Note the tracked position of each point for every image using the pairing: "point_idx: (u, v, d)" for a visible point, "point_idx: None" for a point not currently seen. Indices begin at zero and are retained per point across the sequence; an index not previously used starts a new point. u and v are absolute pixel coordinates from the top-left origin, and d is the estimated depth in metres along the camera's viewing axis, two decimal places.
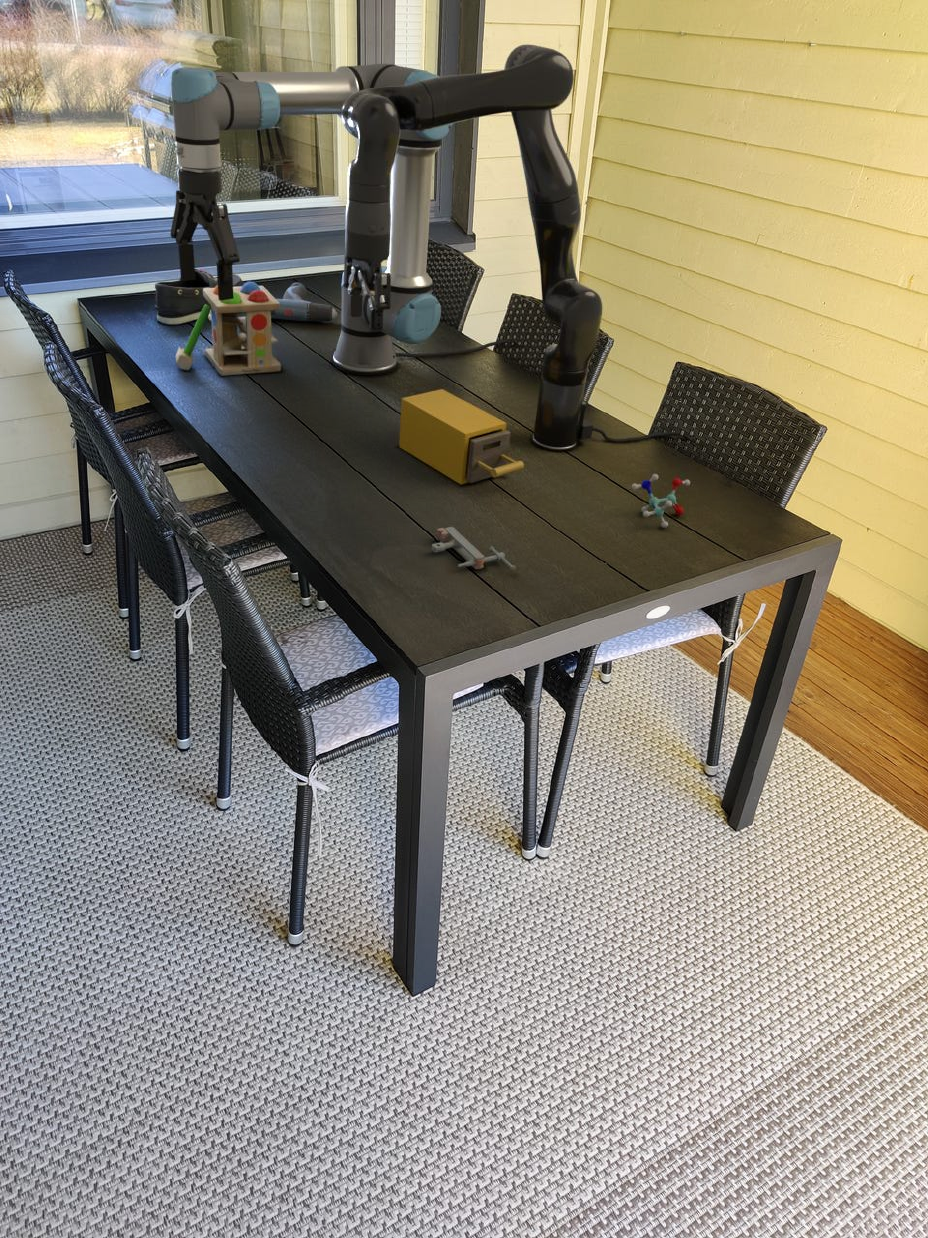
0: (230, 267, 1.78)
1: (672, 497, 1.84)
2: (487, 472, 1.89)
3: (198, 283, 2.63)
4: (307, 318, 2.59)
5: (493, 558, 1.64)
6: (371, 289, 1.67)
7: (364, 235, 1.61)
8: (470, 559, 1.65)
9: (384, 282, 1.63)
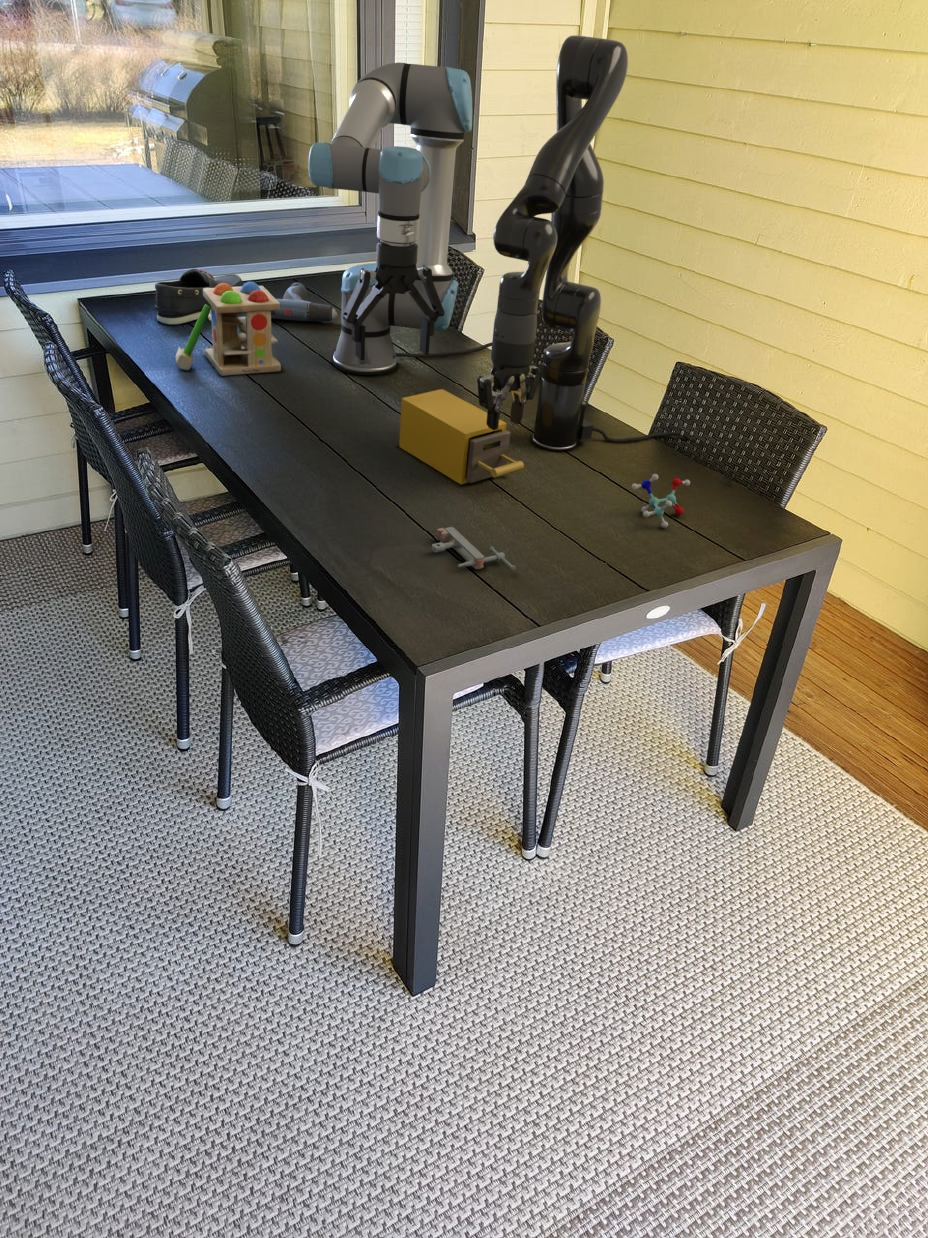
0: None
1: (672, 497, 1.84)
2: (487, 472, 1.89)
3: (198, 283, 2.63)
4: (307, 318, 2.59)
5: (493, 558, 1.64)
6: (498, 389, 1.77)
7: (493, 337, 1.72)
8: (470, 559, 1.65)
9: (482, 386, 1.73)
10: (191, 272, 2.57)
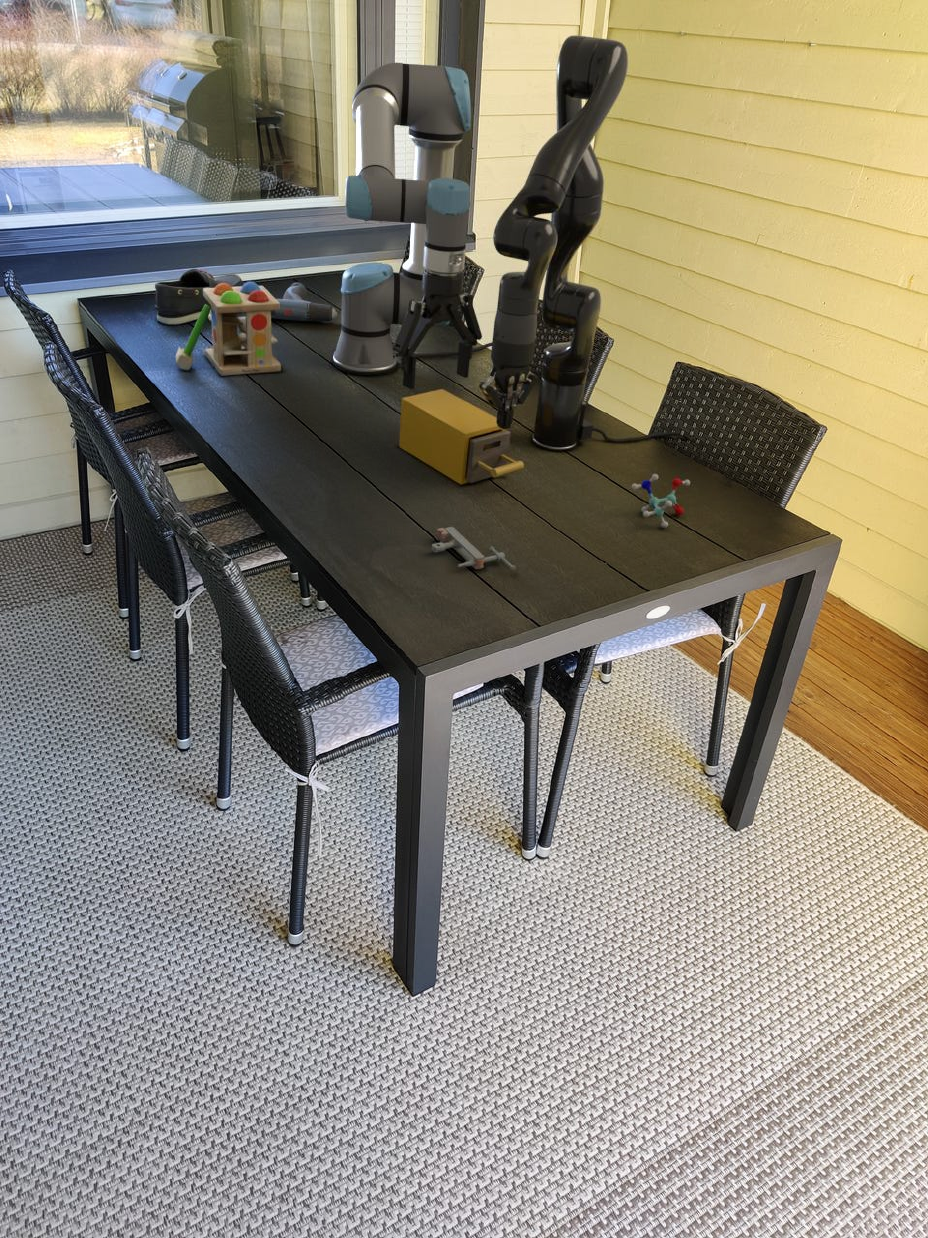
0: None
1: (672, 497, 1.84)
2: (487, 472, 1.89)
3: (198, 283, 2.63)
4: (307, 318, 2.59)
5: (493, 558, 1.64)
6: (498, 389, 1.77)
7: (493, 337, 1.72)
8: (470, 559, 1.65)
9: (485, 392, 1.75)
10: (191, 272, 2.57)
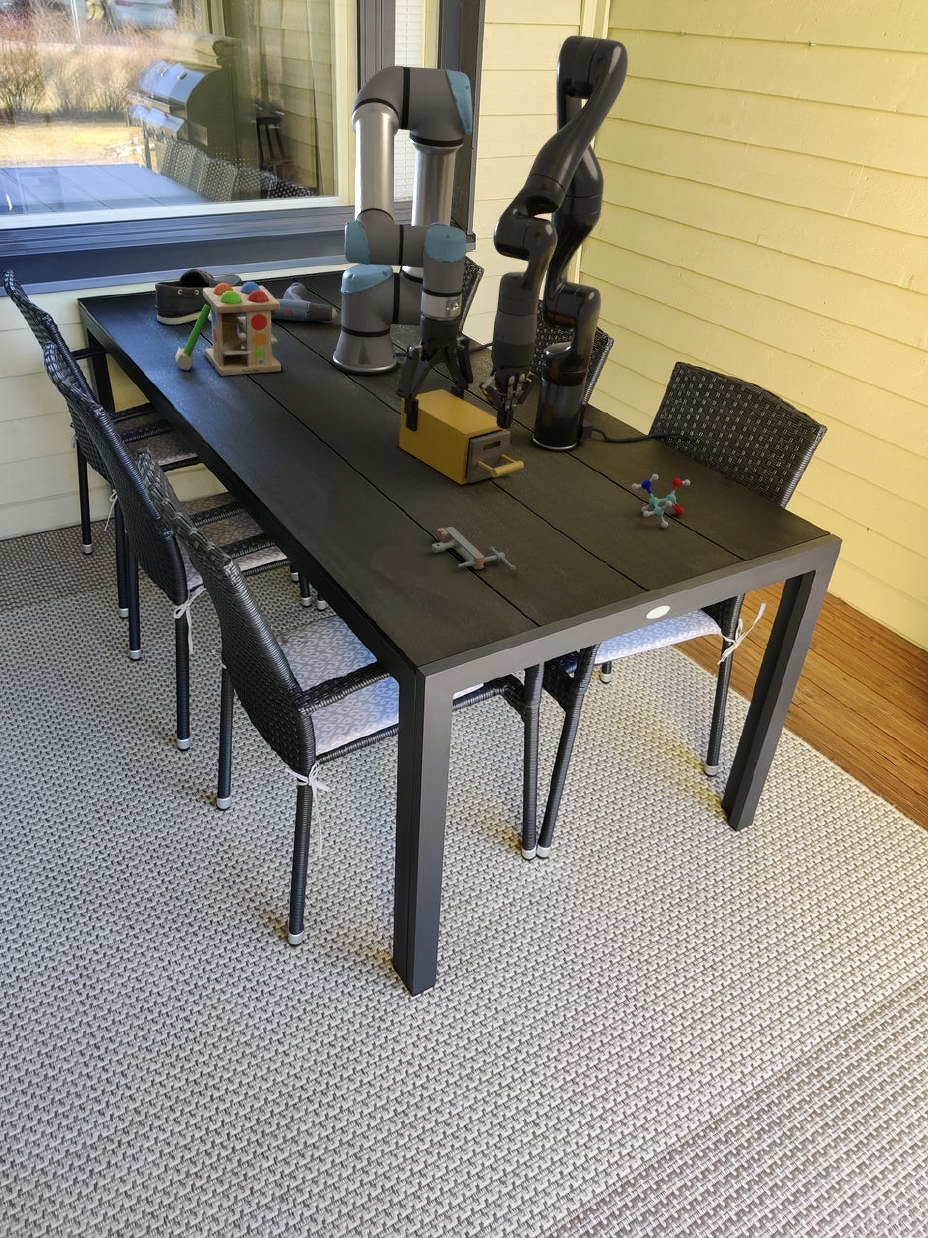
0: None
1: (672, 497, 1.84)
2: (487, 472, 1.89)
3: (198, 283, 2.63)
4: (307, 318, 2.59)
5: (493, 558, 1.64)
6: (498, 389, 1.77)
7: (493, 337, 1.72)
8: (470, 559, 1.65)
9: (485, 392, 1.75)
10: (191, 272, 2.57)
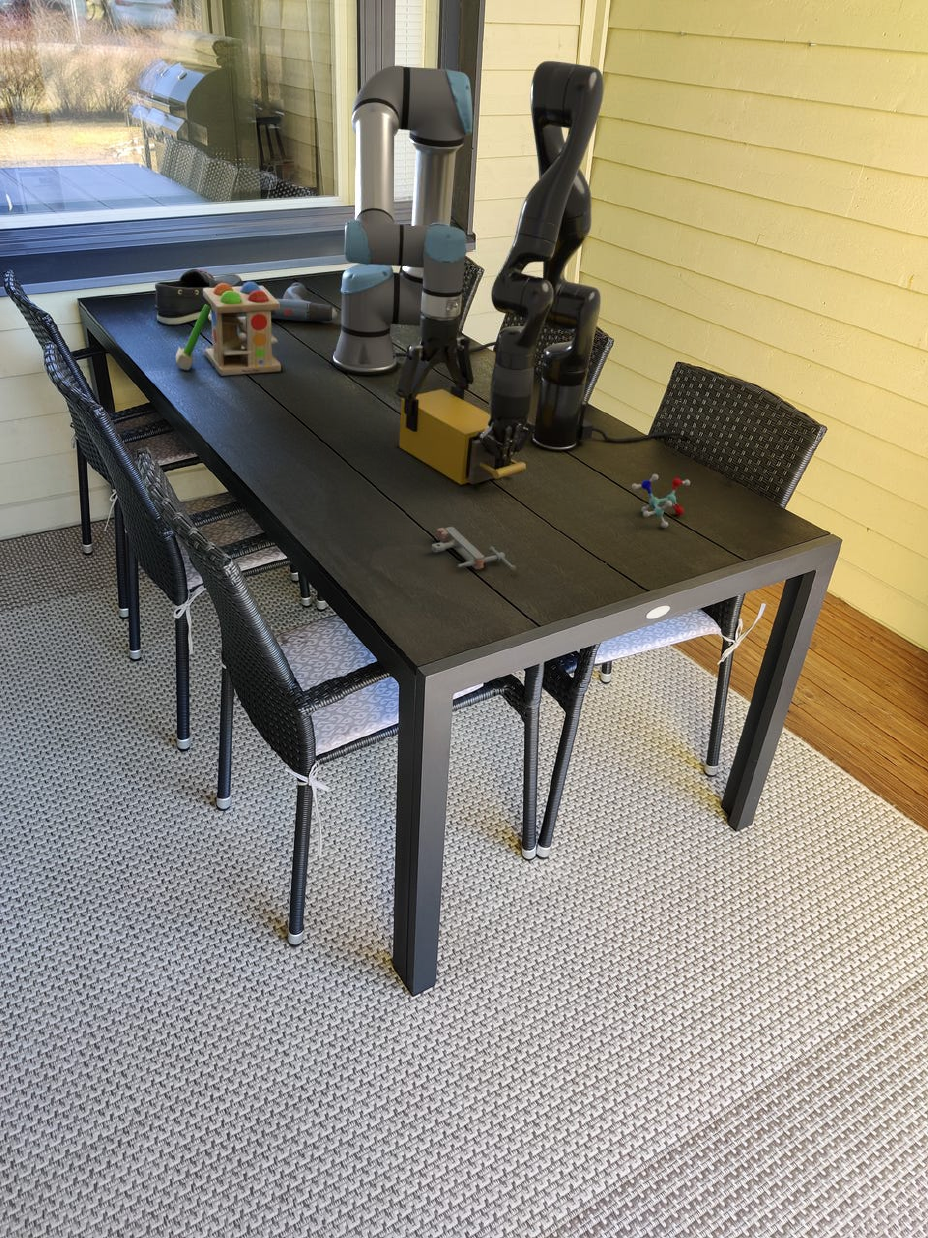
0: None
1: (672, 497, 1.84)
2: (489, 473, 1.89)
3: (198, 283, 2.63)
4: (307, 318, 2.59)
5: (493, 558, 1.64)
6: (495, 438, 1.81)
7: None
8: (470, 559, 1.65)
9: (483, 442, 1.79)
10: (191, 272, 2.57)
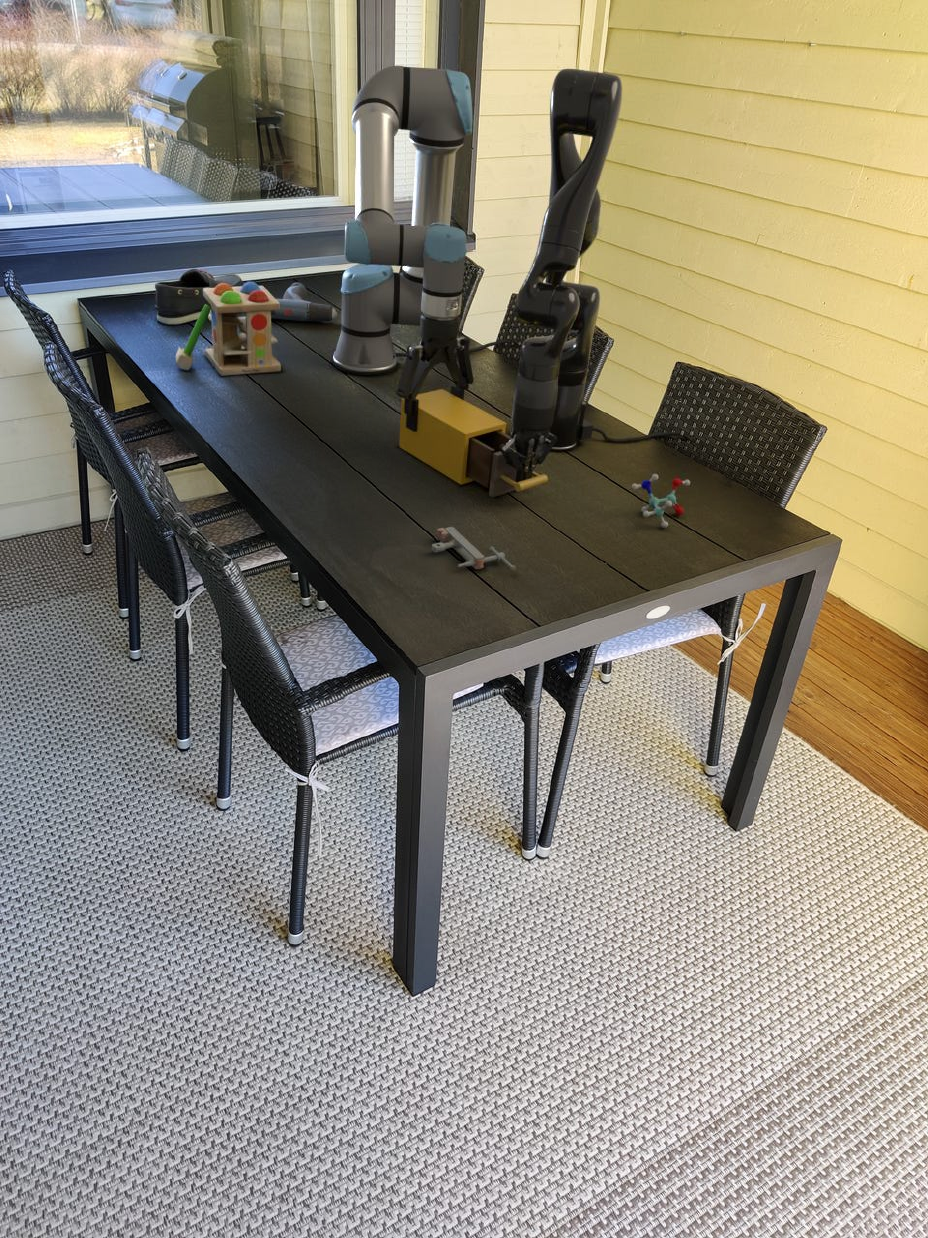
0: None
1: (672, 497, 1.84)
2: (510, 486, 1.85)
3: (198, 283, 2.63)
4: (307, 318, 2.59)
5: (493, 558, 1.64)
6: (517, 450, 1.78)
7: (513, 400, 1.73)
8: (470, 559, 1.65)
9: (505, 454, 1.76)
10: (191, 272, 2.57)
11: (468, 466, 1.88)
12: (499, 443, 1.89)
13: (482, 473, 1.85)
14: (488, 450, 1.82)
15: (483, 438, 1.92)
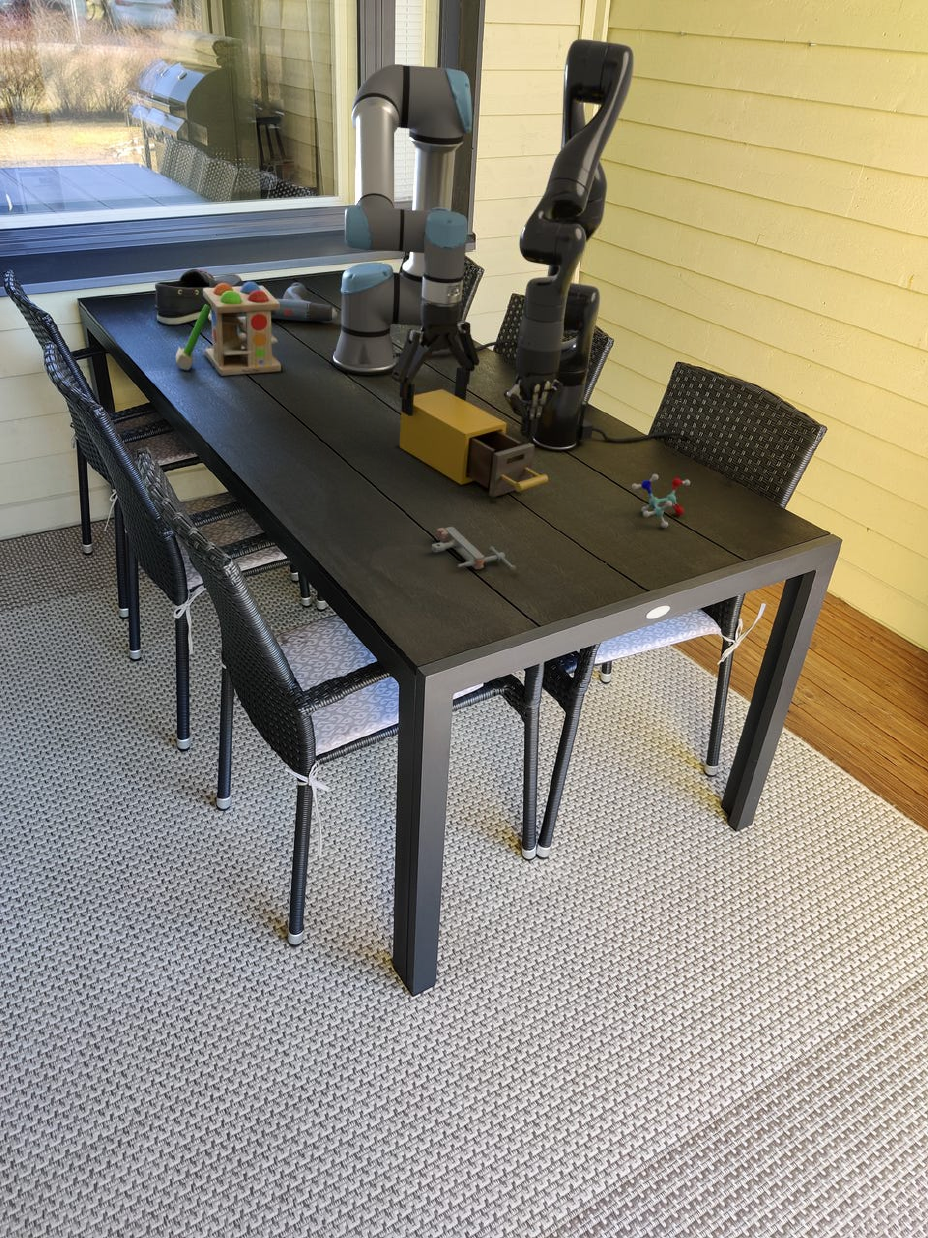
0: None
1: (672, 497, 1.84)
2: (510, 486, 1.85)
3: (198, 283, 2.63)
4: (307, 318, 2.59)
5: (493, 558, 1.64)
6: (522, 397, 1.72)
7: (518, 344, 1.68)
8: (470, 559, 1.65)
9: (510, 401, 1.70)
10: (191, 272, 2.57)
11: (468, 467, 1.88)
12: (500, 443, 1.89)
13: (482, 473, 1.85)
14: (488, 450, 1.82)
15: (483, 438, 1.92)
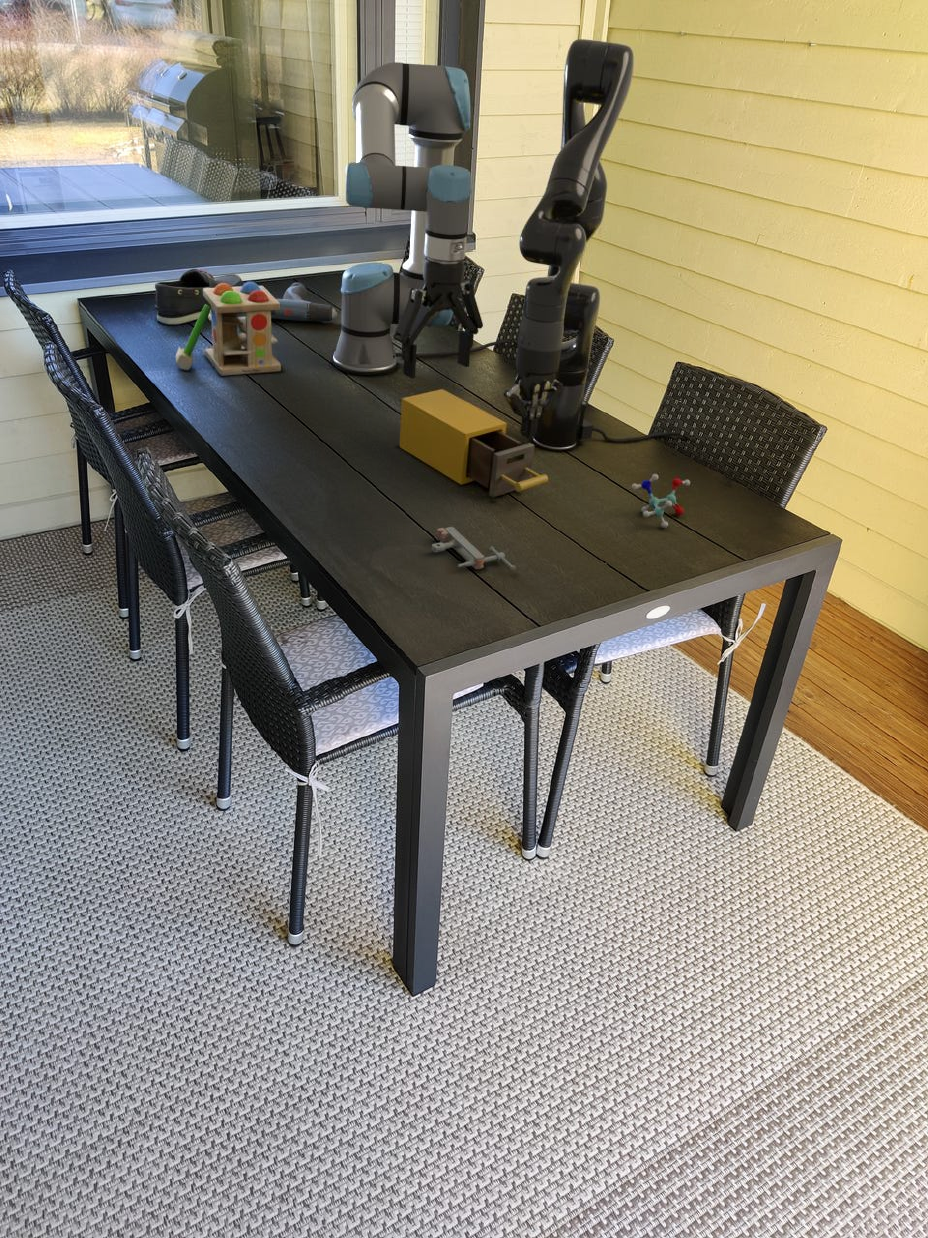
0: None
1: (672, 497, 1.84)
2: (510, 486, 1.85)
3: (198, 283, 2.63)
4: (307, 318, 2.59)
5: (493, 558, 1.64)
6: (522, 397, 1.72)
7: (518, 344, 1.68)
8: (470, 559, 1.65)
9: (510, 401, 1.70)
10: (191, 272, 2.57)
11: (468, 467, 1.88)
12: (500, 443, 1.89)
13: (482, 473, 1.85)
14: (488, 450, 1.82)
15: (483, 438, 1.92)
